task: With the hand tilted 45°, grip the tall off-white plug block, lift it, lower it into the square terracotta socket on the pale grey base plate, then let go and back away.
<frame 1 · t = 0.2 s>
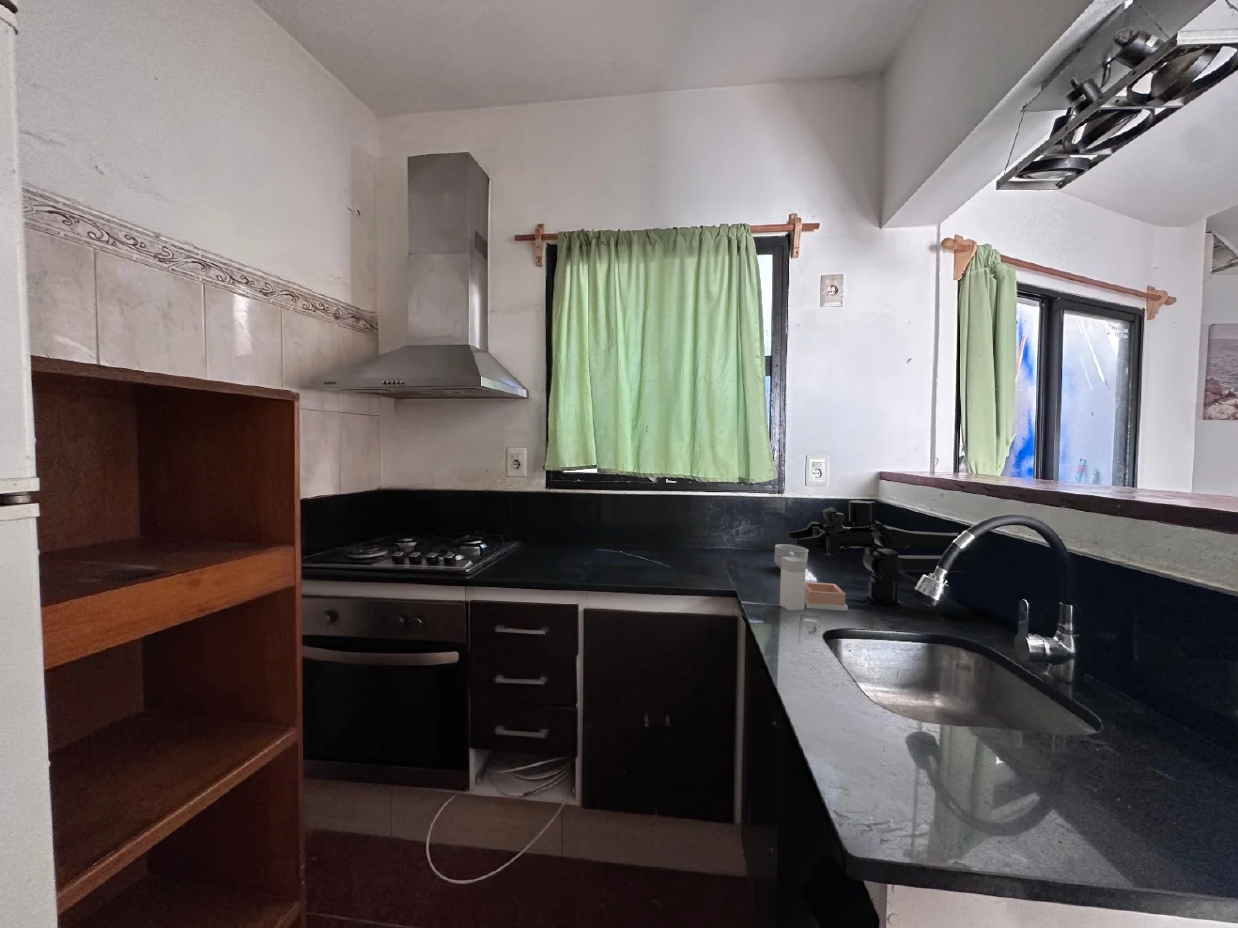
hand: (792, 538, 133), 17 cm above the table, tool horizontal, fingers open, 9 cm apart
teacup: (789, 571, 159), on the table
plug: (791, 606, 124), on the table
socket: (822, 602, 127), on the table
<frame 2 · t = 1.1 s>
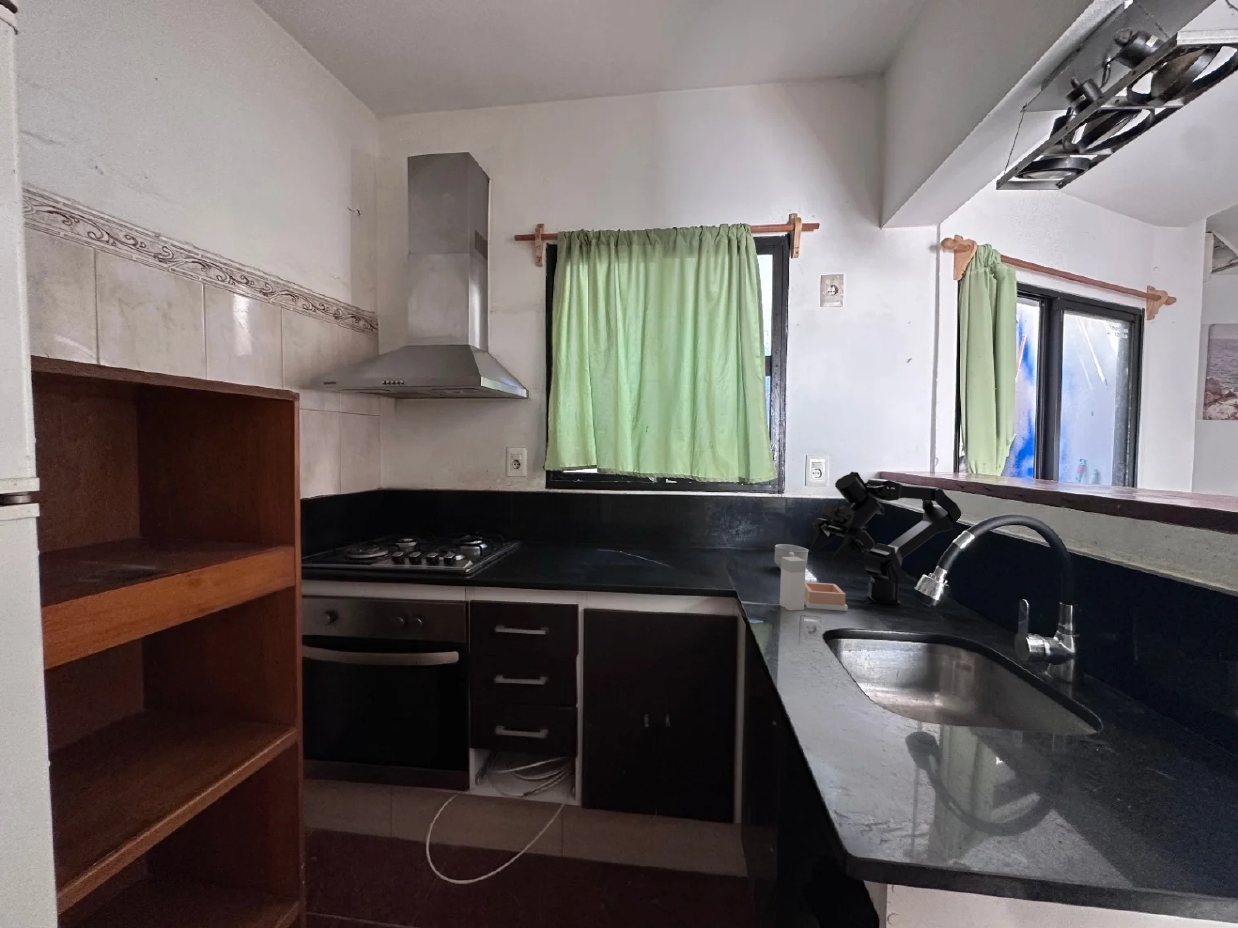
hand: (821, 555, 125), 13 cm above the table, tool tilted 45°, fingers open, 9 cm apart
nothing on the table moved.
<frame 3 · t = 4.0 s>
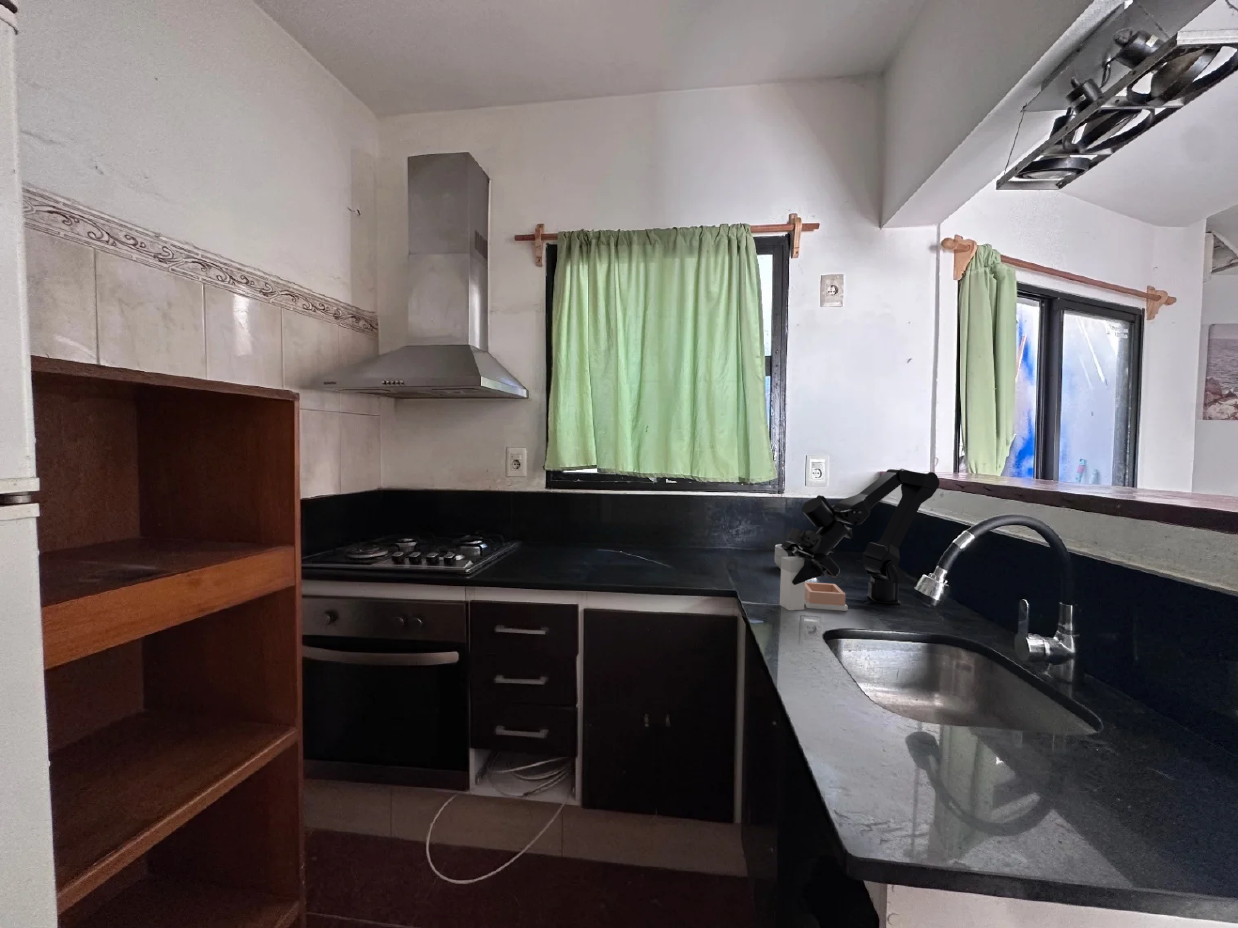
hand: (787, 580, 123), 7 cm above the table, tool tilted 45°, fingers closed on plug, 4 cm apart
plug: (791, 606, 124), on the table, touching gripper
everything else where it was.
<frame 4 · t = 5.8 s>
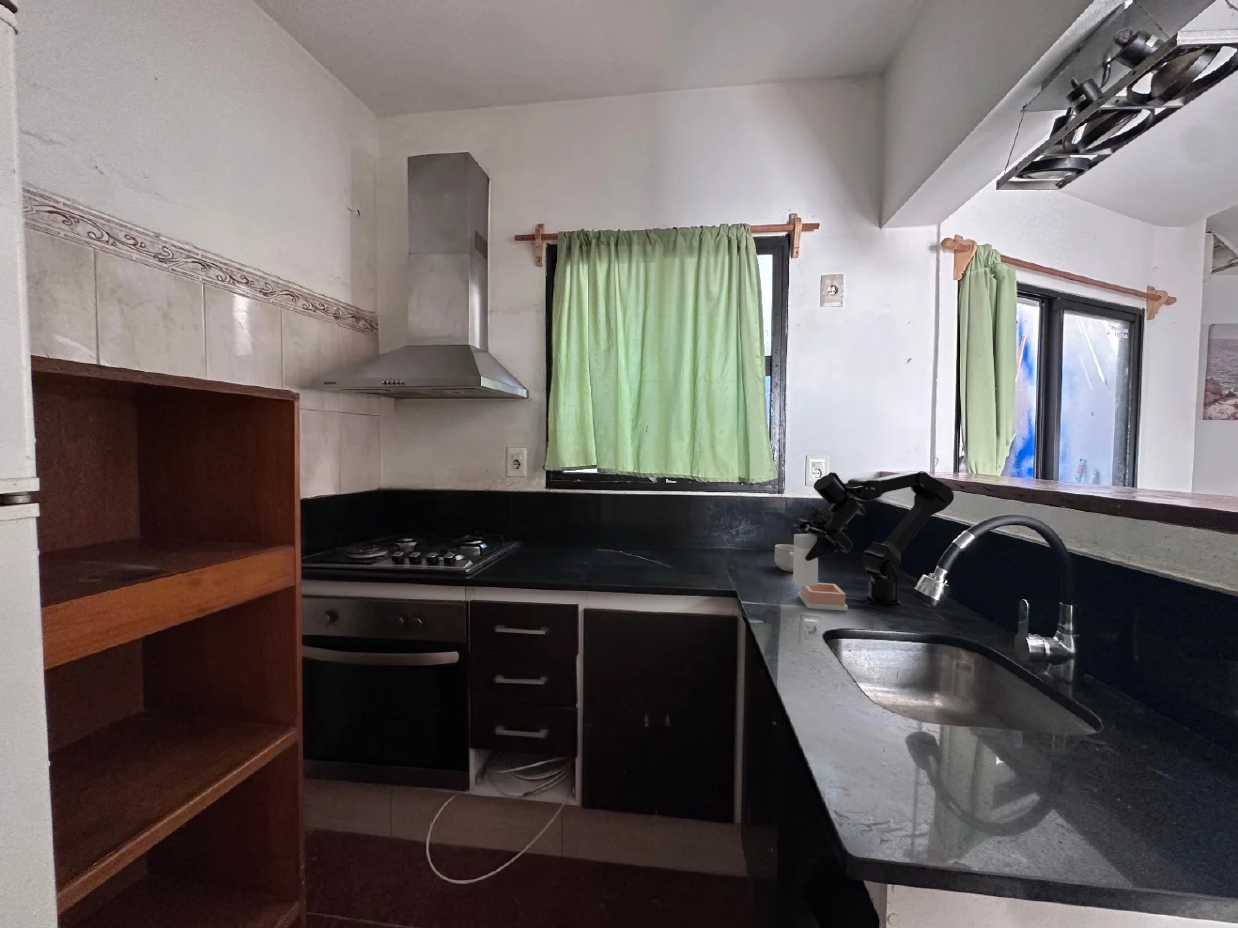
hand: (801, 557, 124), 13 cm above the table, tool tilted 45°, fingers closed on plug, 4 cm apart
plug: (805, 583, 125), point 6 cm above the table, touching gripper
everything else where it was.
when the fingers open (9 cm above the table, at t = 7.7 s): plug stays where it is, resting on socket.
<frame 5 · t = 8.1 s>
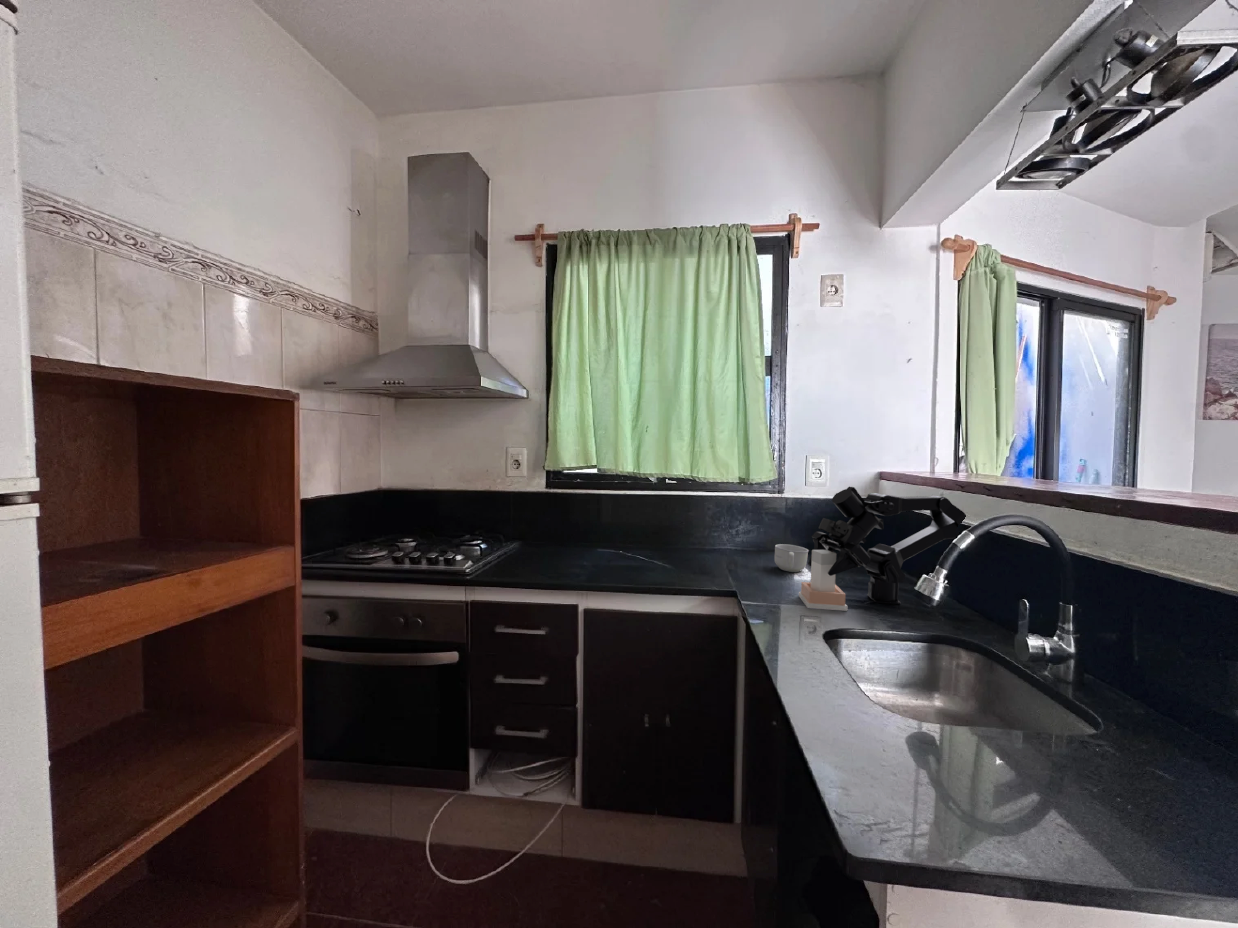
hand: (818, 569, 127), 9 cm above the table, tool tilted 45°, fingers open, 9 cm apart
plug: (822, 598, 127), point 1 cm above the table, touching socket
everything else where it was.
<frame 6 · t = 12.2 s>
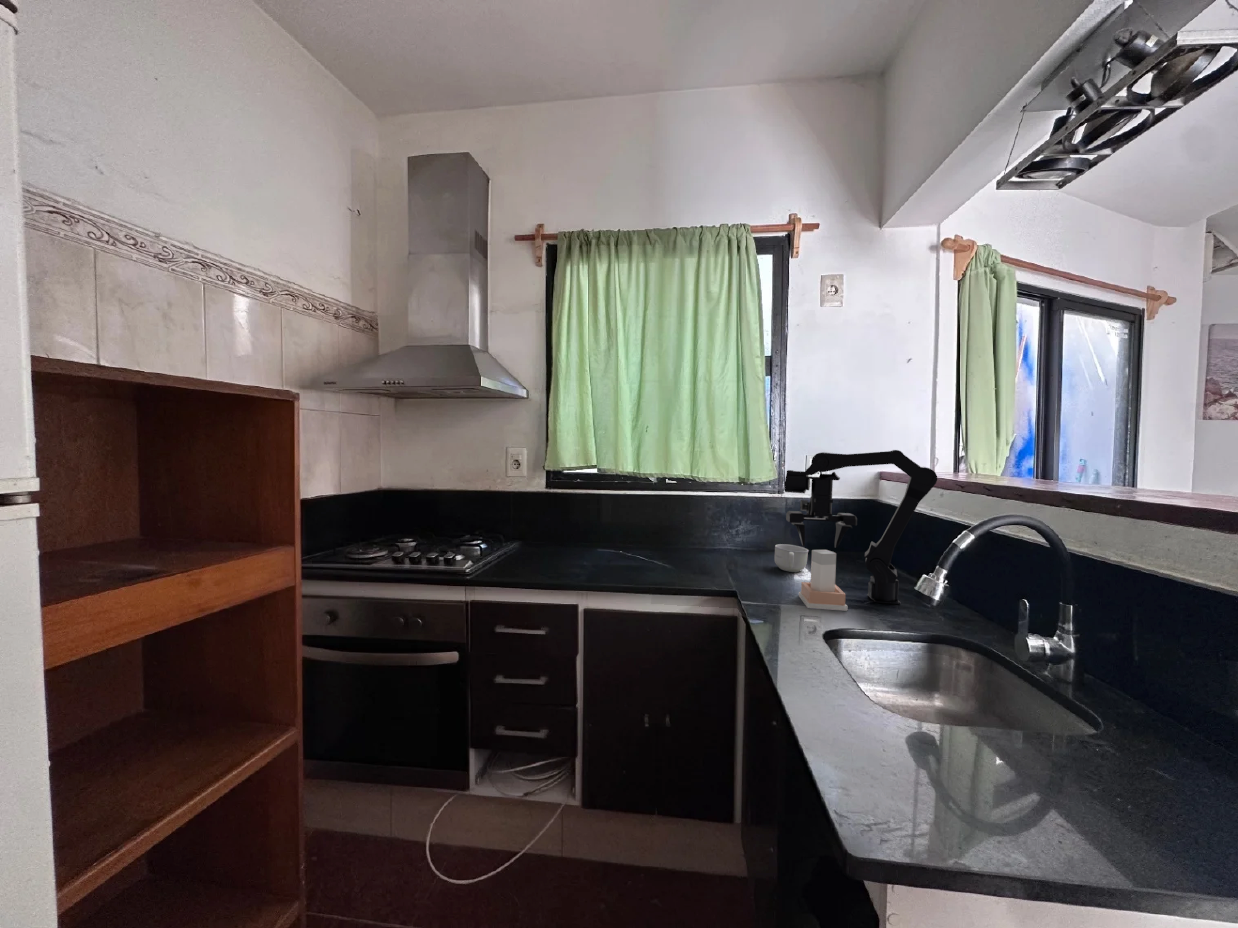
hand: (819, 546, 138), 13 cm above the table, tool pointing down, fingers open, 9 cm apart
nothing on the table moved.
at the end: plug 0.0 cm off-centre on the socket, point 1.2 cm above the socket's base; plug tilted 0°; the gripper is holding nothing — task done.
